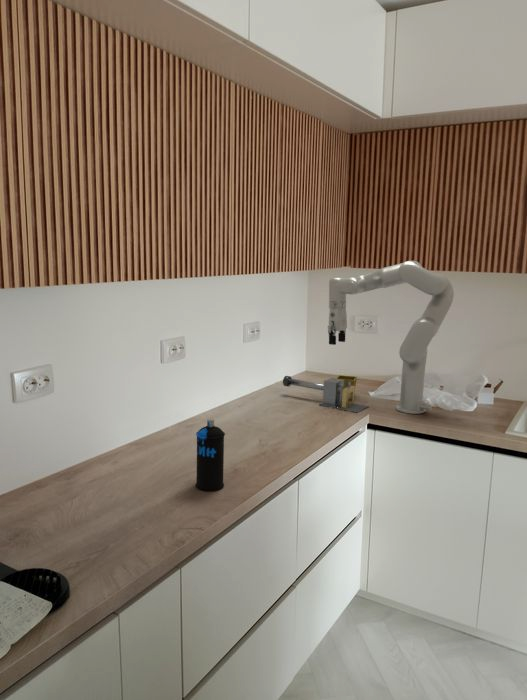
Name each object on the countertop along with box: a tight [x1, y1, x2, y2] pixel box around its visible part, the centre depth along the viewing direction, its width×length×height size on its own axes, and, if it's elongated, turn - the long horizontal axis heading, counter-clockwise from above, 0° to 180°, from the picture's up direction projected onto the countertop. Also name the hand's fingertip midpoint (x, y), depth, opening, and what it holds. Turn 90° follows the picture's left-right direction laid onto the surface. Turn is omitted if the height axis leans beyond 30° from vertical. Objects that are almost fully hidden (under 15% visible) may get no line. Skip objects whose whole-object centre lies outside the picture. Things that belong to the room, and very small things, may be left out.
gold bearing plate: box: [342, 386, 356, 409], centre depth 258 cm, size 2×8×8 cm, turn 147°
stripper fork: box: [340, 382, 351, 408], centre depth 258 cm, size 1×9×10 cm, turn 147°
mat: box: [335, 403, 370, 414], centre depth 257 cm, size 10×12×1 cm
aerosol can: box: [195, 418, 226, 492], centre depth 169 cm, size 8×8×20 cm
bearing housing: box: [318, 377, 344, 409], centre depth 261 cm, size 8×11×11 cm
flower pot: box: [336, 374, 358, 388], centre depth 277 cm, size 9×9×9 cm
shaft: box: [282, 375, 341, 393], centre depth 267 cm, size 28×5×5 cm, turn 57°
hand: (337, 343), depth 266 cm, fingers open, 9 cm apart
